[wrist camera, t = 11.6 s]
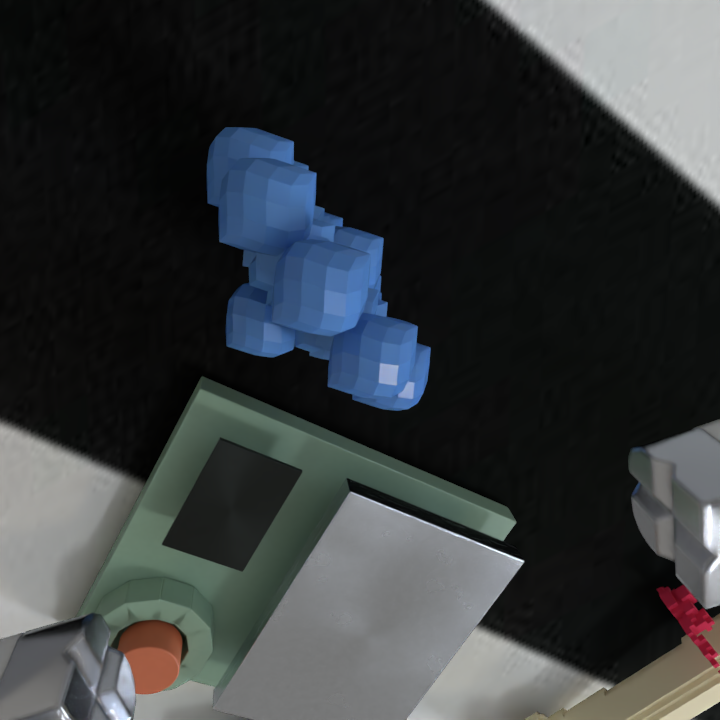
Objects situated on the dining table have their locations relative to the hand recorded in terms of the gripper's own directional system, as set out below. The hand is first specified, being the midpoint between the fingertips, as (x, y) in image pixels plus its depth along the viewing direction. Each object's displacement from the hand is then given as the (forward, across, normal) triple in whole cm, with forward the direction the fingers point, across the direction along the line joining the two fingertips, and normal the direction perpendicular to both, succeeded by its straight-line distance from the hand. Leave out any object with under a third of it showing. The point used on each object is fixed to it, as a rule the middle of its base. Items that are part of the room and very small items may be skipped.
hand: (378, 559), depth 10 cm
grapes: (+20, 0, 0) cm, 21 cm away
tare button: (+18, +12, +16) cm, 27 cm away
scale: (+20, +5, +16) cm, 26 cm away
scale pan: (+17, +4, +16) cm, 24 cm away
